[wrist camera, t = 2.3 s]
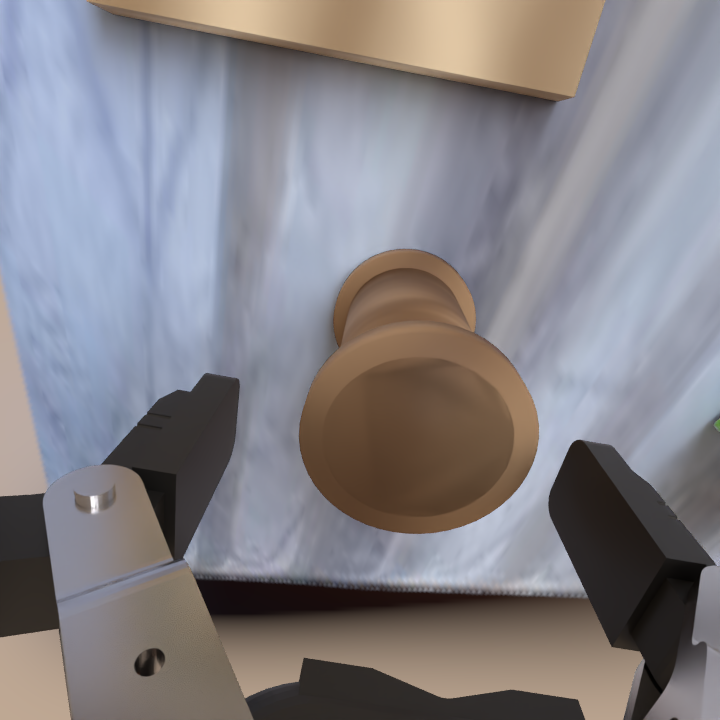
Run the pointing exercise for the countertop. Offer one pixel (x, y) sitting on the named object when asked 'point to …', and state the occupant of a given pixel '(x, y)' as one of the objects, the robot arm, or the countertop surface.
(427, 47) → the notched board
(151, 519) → the robot arm
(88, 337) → the countertop surface
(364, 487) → the wooden bobbin
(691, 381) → the countertop surface
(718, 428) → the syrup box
